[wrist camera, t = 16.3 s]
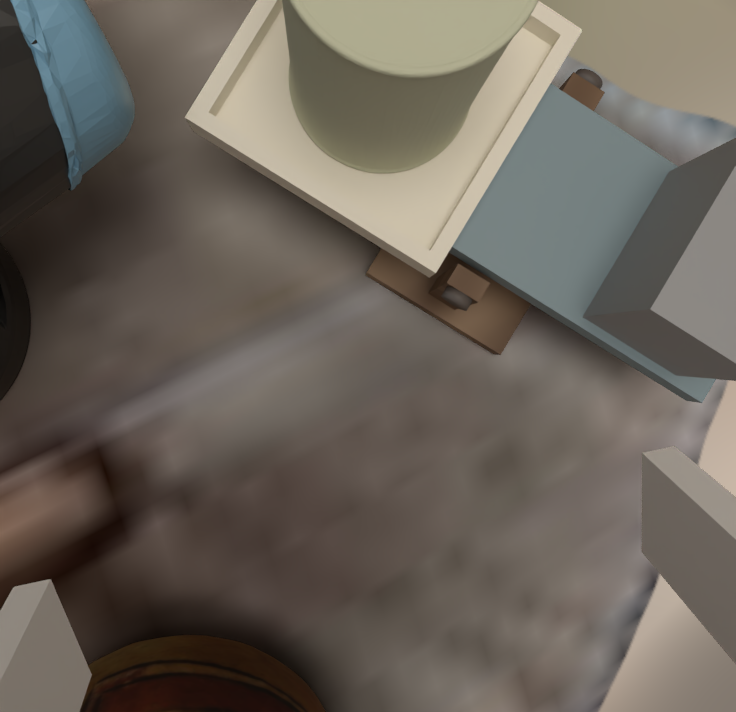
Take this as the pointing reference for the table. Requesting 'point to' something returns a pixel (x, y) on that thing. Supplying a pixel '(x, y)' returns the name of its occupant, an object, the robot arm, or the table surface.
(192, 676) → the ceramic pitcher
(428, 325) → the table surface
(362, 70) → the can
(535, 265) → the balance beam
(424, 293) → the pivot stand
